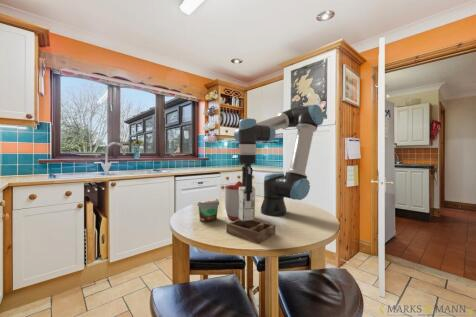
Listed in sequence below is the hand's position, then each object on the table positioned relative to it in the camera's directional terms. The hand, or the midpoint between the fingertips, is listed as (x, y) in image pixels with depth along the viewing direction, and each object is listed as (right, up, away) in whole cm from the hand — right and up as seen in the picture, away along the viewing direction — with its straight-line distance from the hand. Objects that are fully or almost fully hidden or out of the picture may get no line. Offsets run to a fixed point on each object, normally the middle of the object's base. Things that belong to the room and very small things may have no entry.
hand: (246, 205), depth 97 cm
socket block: (+2, -12, -1) cm, 12 cm away
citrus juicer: (-3, -11, +22) cm, 25 cm away
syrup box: (0, -6, 0) cm, 6 cm away
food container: (-18, -11, +16) cm, 26 cm away
